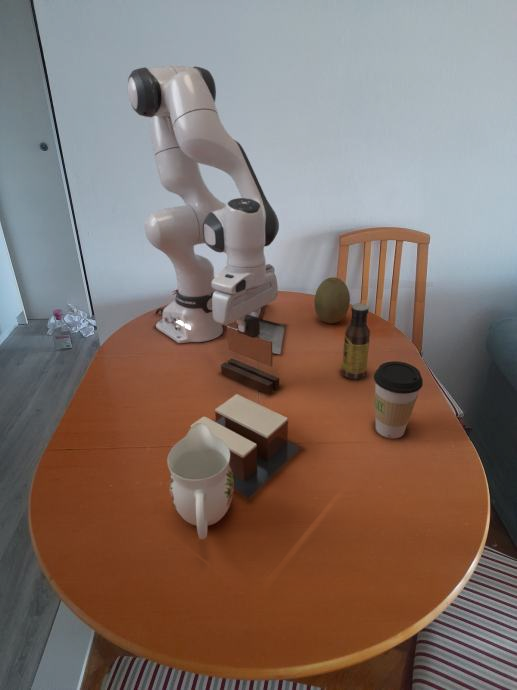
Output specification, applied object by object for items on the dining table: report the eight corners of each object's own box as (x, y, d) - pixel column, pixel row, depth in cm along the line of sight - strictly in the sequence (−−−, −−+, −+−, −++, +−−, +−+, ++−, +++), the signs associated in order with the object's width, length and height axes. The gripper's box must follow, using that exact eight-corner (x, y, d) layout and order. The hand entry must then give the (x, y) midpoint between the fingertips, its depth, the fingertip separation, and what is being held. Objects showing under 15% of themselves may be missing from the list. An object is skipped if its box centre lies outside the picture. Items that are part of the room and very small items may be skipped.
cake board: (175, 453, 93) (171, 426, 89) (229, 413, 104) (228, 388, 101) (249, 500, 82) (248, 471, 78) (300, 449, 93) (301, 422, 90)
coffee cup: (382, 409, 105) (390, 354, 97) (421, 428, 99) (433, 371, 91) (358, 429, 99) (365, 372, 92) (398, 450, 93) (408, 391, 85)
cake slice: (192, 450, 93) (190, 425, 90) (206, 440, 95) (204, 415, 92) (244, 481, 85) (243, 455, 82) (257, 469, 88) (256, 444, 85)
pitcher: (170, 565, 71) (159, 505, 64) (176, 480, 86) (168, 425, 80) (239, 558, 72) (235, 498, 65) (232, 475, 87) (229, 420, 81)
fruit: (314, 312, 152) (317, 270, 145) (348, 315, 150) (352, 272, 143) (311, 327, 142) (313, 283, 135) (347, 330, 140) (351, 285, 133)
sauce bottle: (344, 366, 122) (350, 299, 112) (367, 370, 120) (375, 302, 110) (338, 378, 117) (345, 309, 107) (362, 383, 115) (371, 312, 105)
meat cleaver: (280, 354, 128) (280, 342, 126) (241, 352, 129) (241, 340, 127) (287, 307, 157) (288, 296, 155) (255, 306, 158) (255, 295, 156)
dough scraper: (226, 351, 116) (223, 311, 110) (232, 347, 117) (229, 308, 112) (269, 368, 108) (268, 326, 103) (274, 364, 110) (274, 323, 104)
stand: (221, 374, 119) (220, 364, 118) (232, 367, 122) (231, 357, 121) (268, 395, 110) (268, 385, 109) (279, 387, 113) (279, 377, 112)
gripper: (263, 259, 111) (264, 310, 117) (205, 283, 97) (210, 339, 104) (284, 264, 107) (283, 316, 114) (227, 290, 93) (230, 347, 100)
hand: (248, 327), depth 109 cm, fingers closed on dough scraper, 2 cm apart
